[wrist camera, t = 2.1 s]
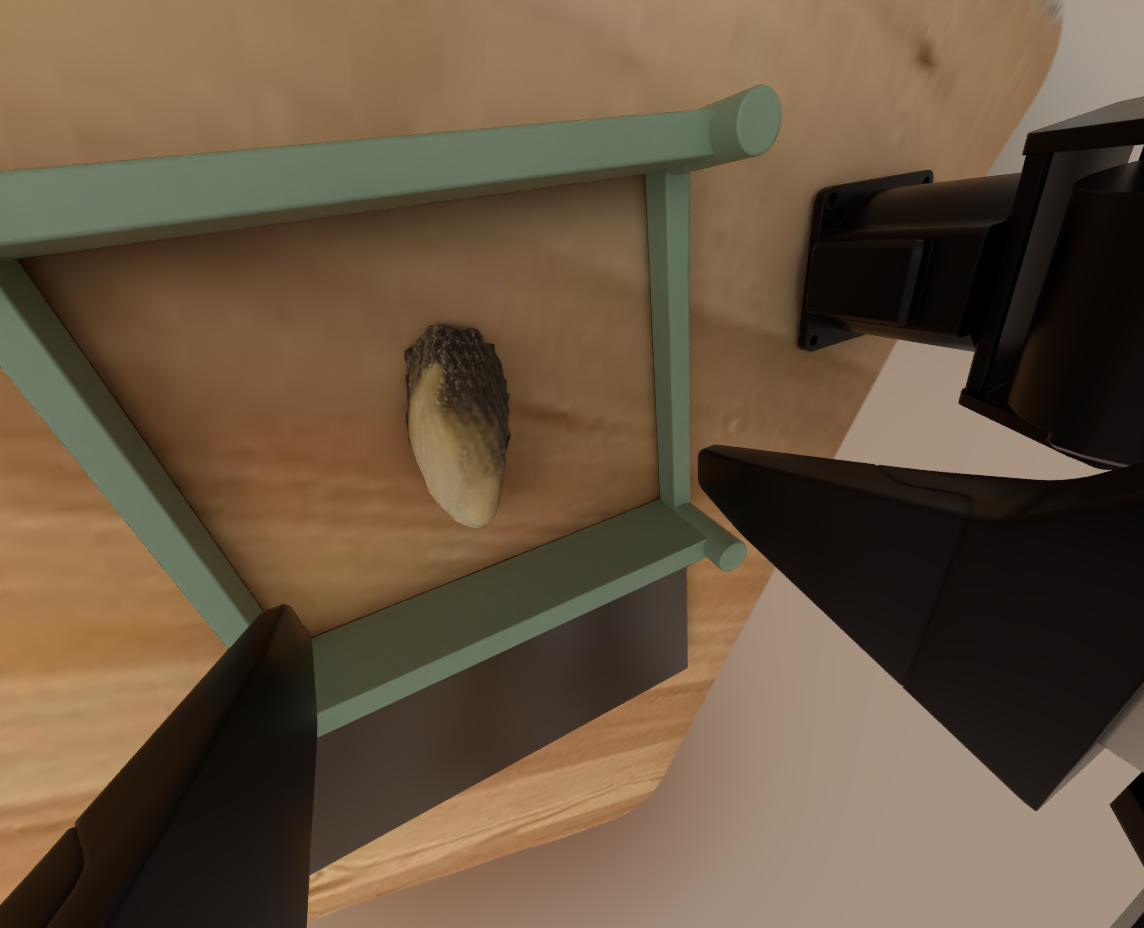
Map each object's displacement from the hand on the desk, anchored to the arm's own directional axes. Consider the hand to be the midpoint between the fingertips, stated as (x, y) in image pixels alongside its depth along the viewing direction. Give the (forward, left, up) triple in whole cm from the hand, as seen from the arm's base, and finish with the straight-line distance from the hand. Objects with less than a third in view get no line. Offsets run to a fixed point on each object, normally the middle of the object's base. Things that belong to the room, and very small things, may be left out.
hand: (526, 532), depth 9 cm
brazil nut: (0, 0, -7) cm, 7 cm away
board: (+2, +14, -7) cm, 16 cm away
